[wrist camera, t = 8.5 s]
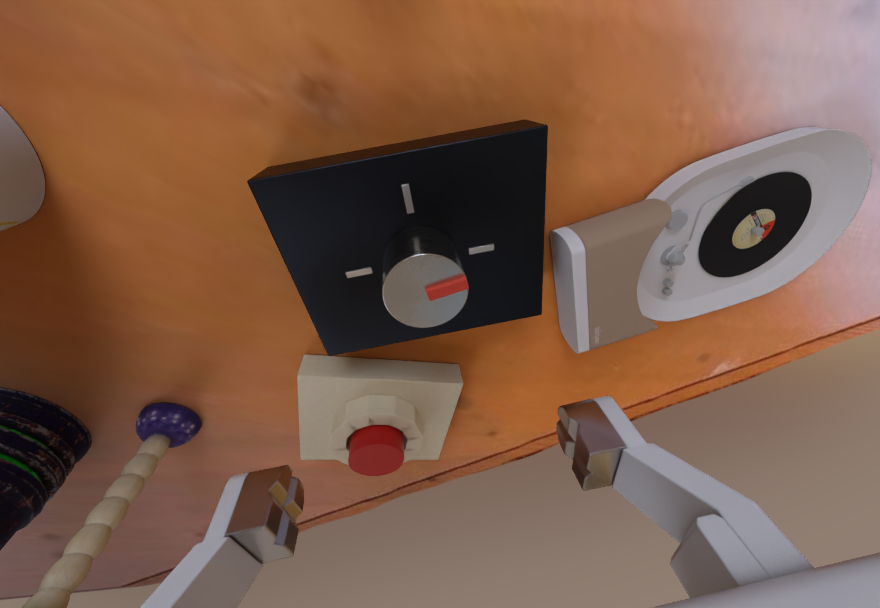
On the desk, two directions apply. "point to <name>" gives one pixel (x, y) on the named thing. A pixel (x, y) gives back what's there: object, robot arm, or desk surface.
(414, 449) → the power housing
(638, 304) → the record player
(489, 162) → the control panel
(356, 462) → the power button
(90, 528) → the toy lamp
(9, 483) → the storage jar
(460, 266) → the dial
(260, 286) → the desk surface
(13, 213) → the white round cylinder
